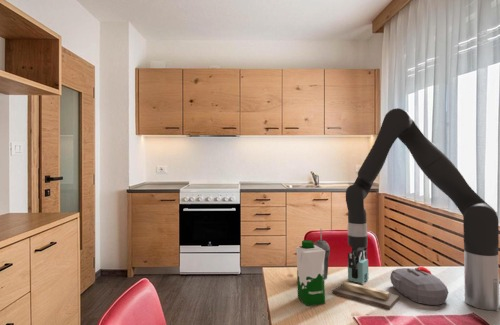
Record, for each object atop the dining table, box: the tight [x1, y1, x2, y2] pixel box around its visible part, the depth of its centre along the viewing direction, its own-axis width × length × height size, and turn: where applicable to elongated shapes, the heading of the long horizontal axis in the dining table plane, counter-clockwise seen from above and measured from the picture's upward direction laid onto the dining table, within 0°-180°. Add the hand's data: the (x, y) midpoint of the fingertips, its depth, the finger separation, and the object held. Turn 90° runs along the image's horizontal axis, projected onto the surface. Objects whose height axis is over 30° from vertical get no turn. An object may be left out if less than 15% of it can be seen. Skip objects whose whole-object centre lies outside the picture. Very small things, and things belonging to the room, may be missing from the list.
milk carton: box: [295, 239, 326, 307], centre depth 112 cm, size 9×9×20 cm
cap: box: [416, 266, 432, 274], centre depth 128 cm, size 8×6×6 cm
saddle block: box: [347, 258, 369, 284], centre depth 129 cm, size 6×6×8 cm
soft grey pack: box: [390, 267, 449, 306], centre depth 115 cm, size 15×8×20 cm
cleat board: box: [332, 281, 400, 310], centre depth 114 cm, size 20×10×3 cm, turn 49°
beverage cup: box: [313, 228, 331, 281], centre depth 133 cm, size 7×7×20 cm
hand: (358, 275), depth 129 cm, fingers closed on saddle block, 5 cm apart
